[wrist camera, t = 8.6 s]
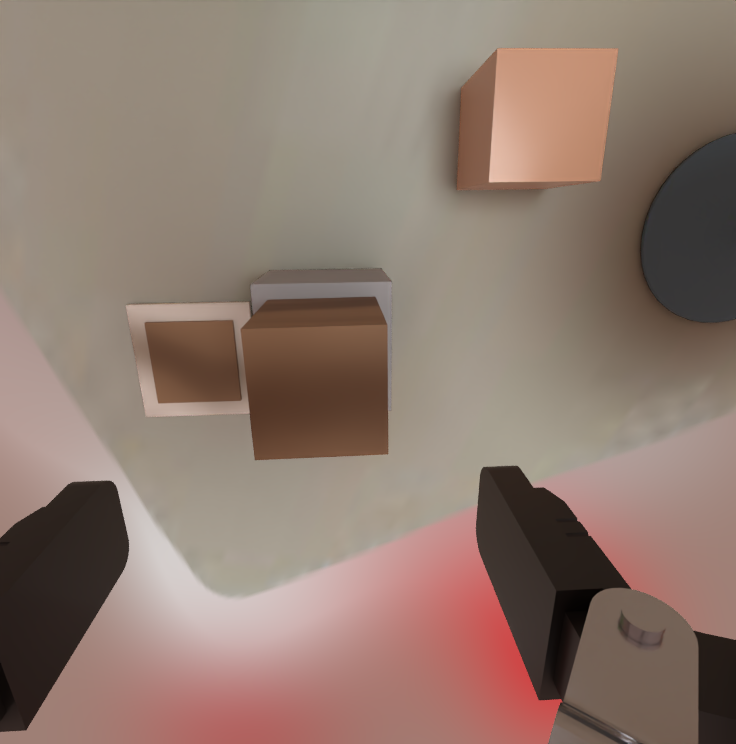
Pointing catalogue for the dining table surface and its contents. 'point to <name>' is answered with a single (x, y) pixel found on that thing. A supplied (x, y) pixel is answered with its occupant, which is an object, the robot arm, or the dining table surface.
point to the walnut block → (317, 378)
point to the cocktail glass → (695, 236)
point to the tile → (190, 357)
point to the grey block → (328, 291)
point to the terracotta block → (535, 118)
